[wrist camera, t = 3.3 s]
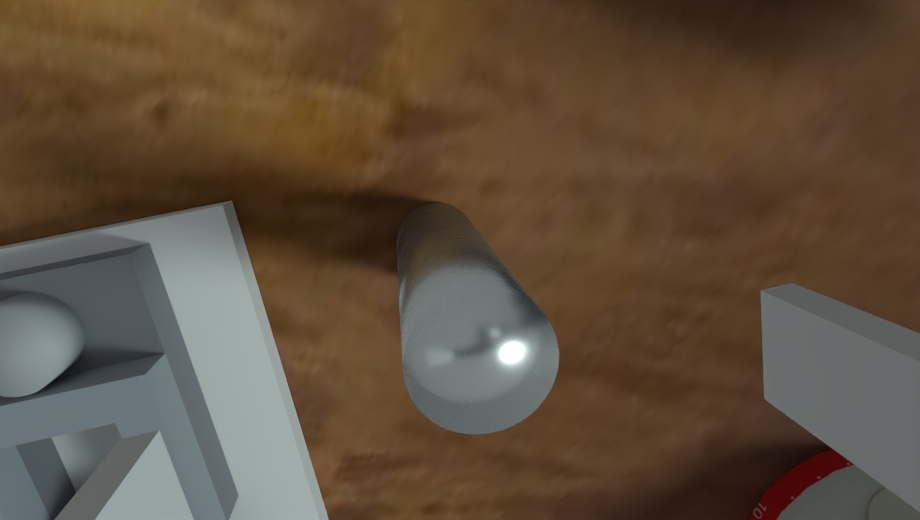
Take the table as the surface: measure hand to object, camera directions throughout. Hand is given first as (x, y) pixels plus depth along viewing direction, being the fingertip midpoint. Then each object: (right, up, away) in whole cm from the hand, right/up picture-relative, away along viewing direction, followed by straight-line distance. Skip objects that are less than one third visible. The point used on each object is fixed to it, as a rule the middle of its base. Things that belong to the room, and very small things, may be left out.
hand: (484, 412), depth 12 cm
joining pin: (-2, +4, +15) cm, 16 cm away
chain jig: (-17, -5, +16) cm, 24 cm away
